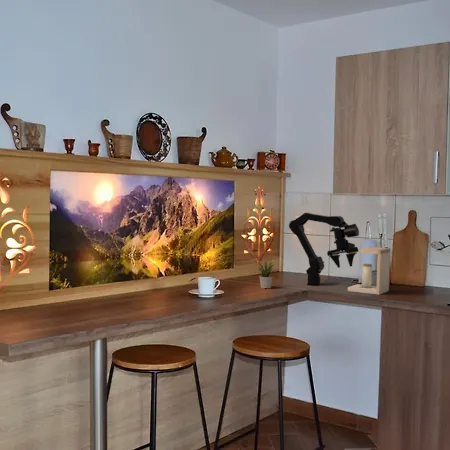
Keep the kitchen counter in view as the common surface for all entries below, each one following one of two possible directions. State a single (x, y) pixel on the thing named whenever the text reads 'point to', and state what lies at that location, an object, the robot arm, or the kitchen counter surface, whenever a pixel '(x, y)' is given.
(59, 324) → the kitchen counter surface
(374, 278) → the medicine box
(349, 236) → the robot arm
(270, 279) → the house plant
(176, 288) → the kitchen counter surface
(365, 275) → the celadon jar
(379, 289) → the light wood frame
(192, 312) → the kitchen counter surface
